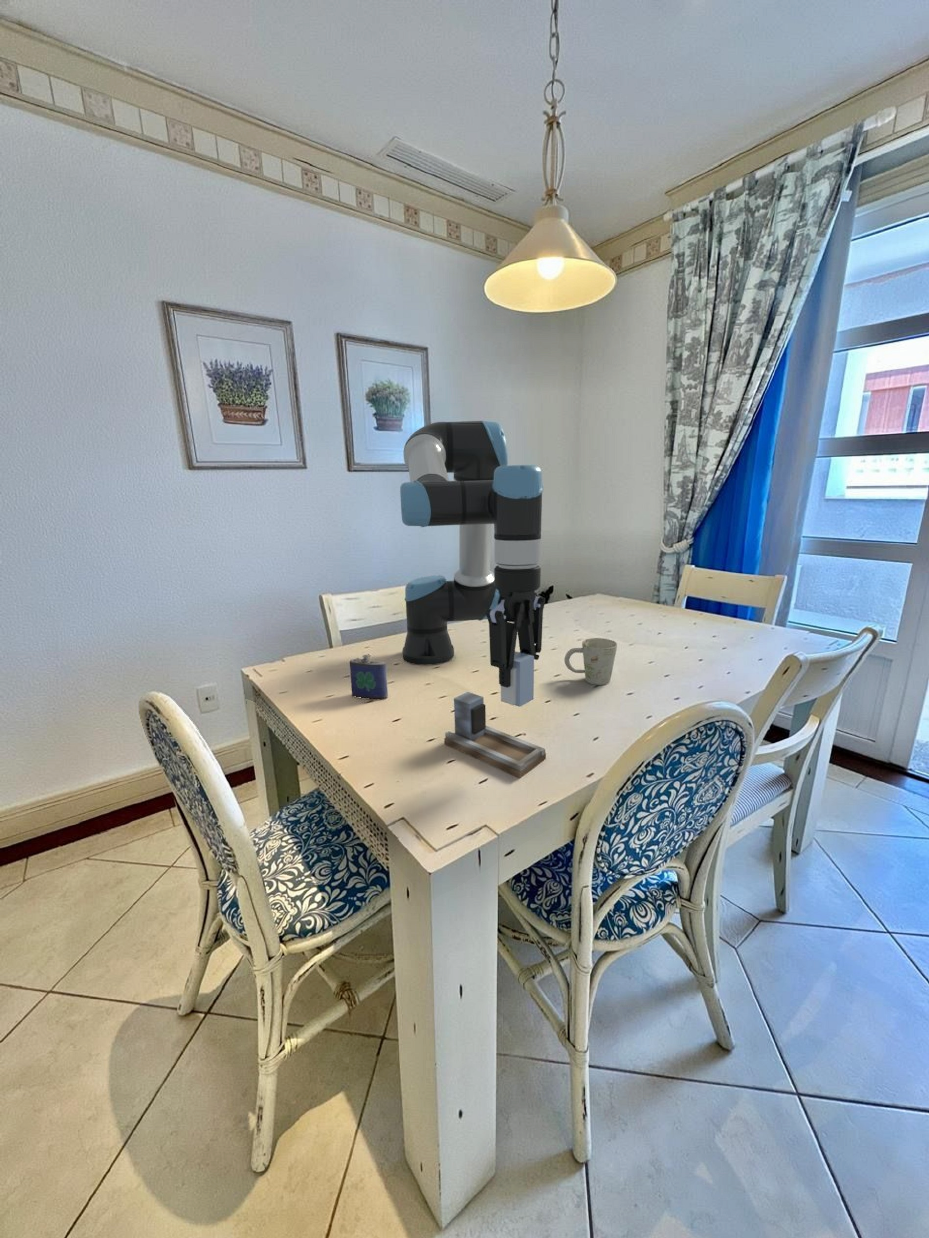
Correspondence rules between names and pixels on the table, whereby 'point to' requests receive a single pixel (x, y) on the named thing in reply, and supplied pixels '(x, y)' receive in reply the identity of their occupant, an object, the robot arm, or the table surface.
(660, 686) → the table surface
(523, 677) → the blue-grey rectangular block
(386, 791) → the table surface
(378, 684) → the flask
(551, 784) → the table surface
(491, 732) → the rail board
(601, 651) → the mug
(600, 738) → the table surface
